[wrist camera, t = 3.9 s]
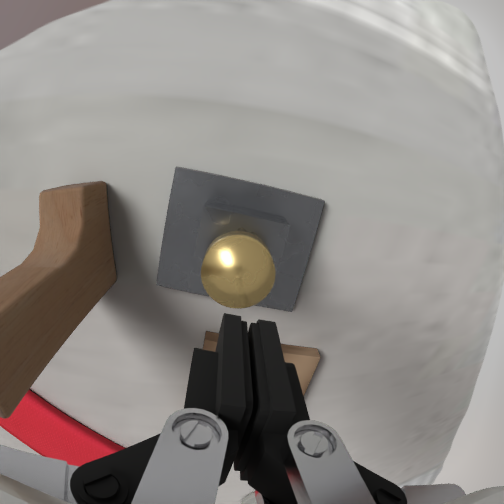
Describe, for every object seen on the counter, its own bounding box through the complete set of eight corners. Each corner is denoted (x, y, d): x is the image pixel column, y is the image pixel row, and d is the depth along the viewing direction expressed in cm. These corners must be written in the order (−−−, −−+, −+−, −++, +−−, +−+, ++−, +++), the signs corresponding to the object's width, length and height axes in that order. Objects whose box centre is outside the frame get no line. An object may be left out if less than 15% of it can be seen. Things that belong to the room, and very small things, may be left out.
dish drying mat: (124, 487, 38) (120, 503, 34) (-56, 356, 29) (-67, 367, 25) (159, 459, 35) (155, 478, 31) (-59, 297, 26) (-73, 307, 22)
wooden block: (65, 185, 23) (-102, 237, 6) (107, 180, 23) (-65, 230, 6) (78, 280, 26) (-41, 401, 8) (118, 280, 26) (9, 424, 9)
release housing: (322, 199, 25) (338, 207, 21) (290, 307, 27) (299, 331, 23) (177, 166, 23) (166, 168, 19) (158, 281, 26) (146, 302, 22)
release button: (279, 238, 20) (283, 247, 18) (262, 300, 21) (265, 314, 19) (211, 224, 19) (208, 231, 17) (198, 287, 20) (195, 300, 18)
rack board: (316, 348, 29) (320, 357, 27) (278, 435, 33) (279, 444, 31) (206, 331, 28) (204, 339, 26) (189, 424, 31) (187, 433, 30)
